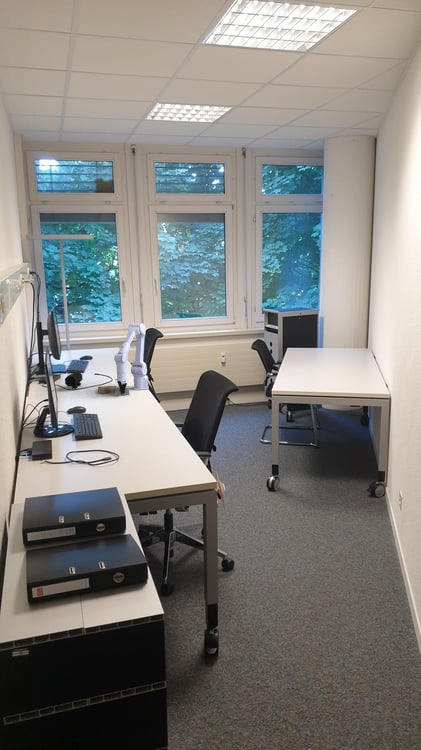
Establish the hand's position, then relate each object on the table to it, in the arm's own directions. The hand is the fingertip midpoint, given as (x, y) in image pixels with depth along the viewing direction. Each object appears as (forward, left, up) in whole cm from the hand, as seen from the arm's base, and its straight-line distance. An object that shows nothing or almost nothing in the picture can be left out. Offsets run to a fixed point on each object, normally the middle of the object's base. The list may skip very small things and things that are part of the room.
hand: (122, 392), depth 349 cm
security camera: (+29, -29, -2) cm, 41 cm away
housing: (0, 0, -2) cm, 2 cm away
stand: (+8, -12, -1) cm, 14 cm away
